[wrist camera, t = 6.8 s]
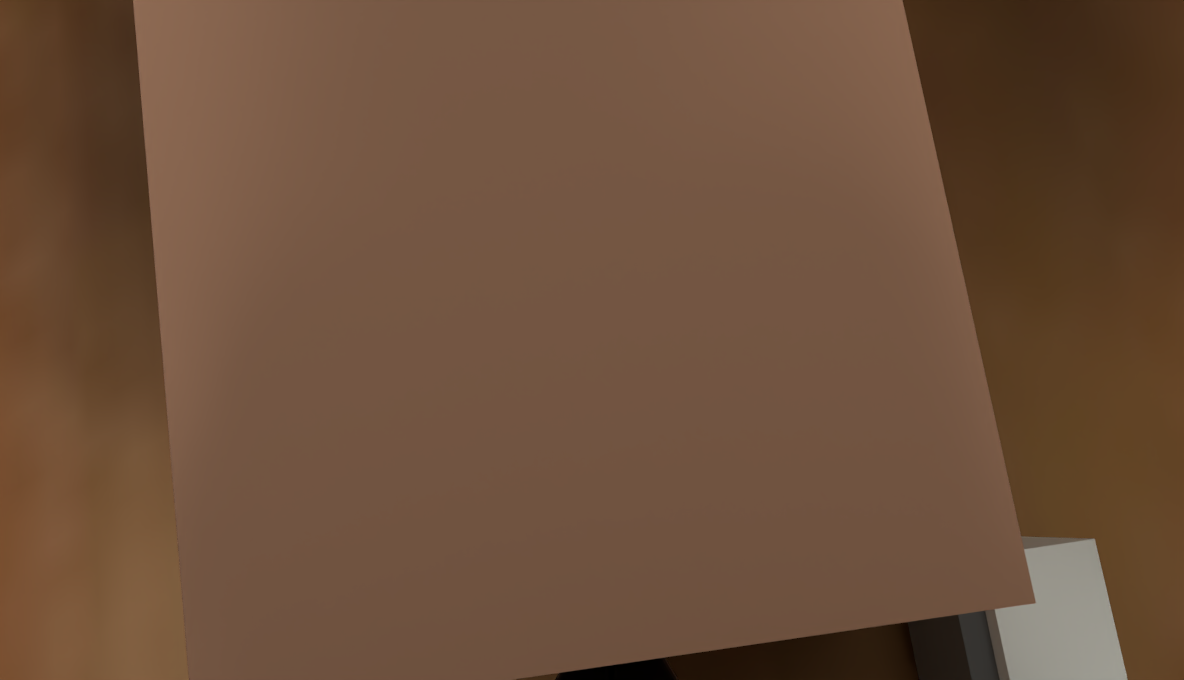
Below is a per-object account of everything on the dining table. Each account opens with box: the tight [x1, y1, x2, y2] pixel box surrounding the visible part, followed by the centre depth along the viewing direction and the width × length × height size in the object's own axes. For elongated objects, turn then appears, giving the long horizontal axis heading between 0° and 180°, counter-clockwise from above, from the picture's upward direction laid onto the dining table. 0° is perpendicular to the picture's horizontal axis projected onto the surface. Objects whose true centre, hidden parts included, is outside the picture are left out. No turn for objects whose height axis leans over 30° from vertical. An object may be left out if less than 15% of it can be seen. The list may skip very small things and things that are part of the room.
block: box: [133, 0, 1036, 680], centre depth 13 cm, size 7×6×9 cm
